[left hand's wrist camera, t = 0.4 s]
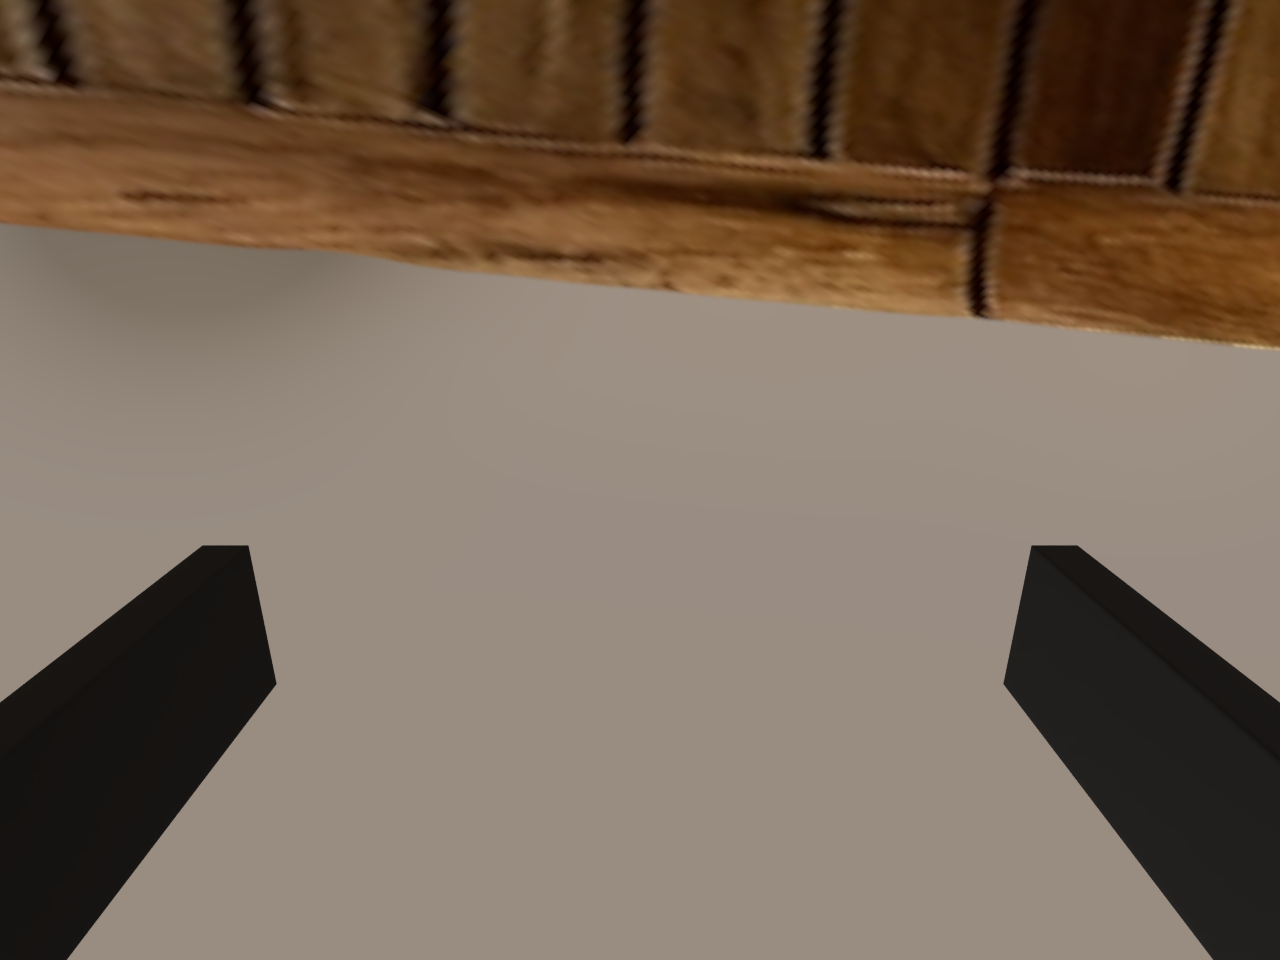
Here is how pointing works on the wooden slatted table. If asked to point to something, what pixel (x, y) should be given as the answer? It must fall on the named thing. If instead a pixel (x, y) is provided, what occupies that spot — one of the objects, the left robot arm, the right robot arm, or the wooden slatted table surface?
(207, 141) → the wooden slatted table surface
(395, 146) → the wooden slatted table surface
